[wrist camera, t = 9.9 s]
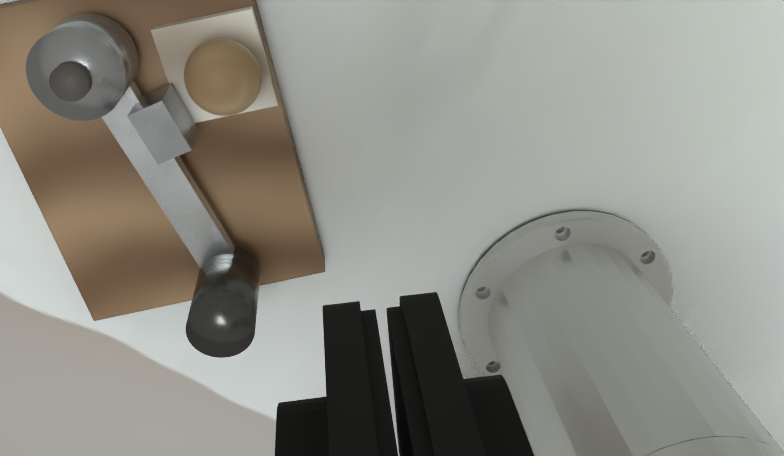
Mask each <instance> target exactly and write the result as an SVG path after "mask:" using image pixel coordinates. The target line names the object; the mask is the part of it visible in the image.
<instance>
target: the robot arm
mask: <svg viewBox="0 0 784 456" xmlns="http://www.w3.org/2000/svg"><path fill="white" fill-rule="evenodd" d="M672 292H673V289H672V278H671V272H670V269H669V267H668V264H667V261H666V258H665V257H664V255H663V254H662V253H661V251H660V250H659V248H658V247H657V245H656V244H655V243H654V242H653V241H652V240H651V239H650V238H649V236H648V235H647V234H646V233H645V232H644V231H642V230H641V229H639V228H638V227H637V226H635V225H634V224H632V223H631V222H629V221H626V220H624V219H622V218H619V217H617V216H614V215H611V214H605V213H600V212H595V211H571V212H565V213H559V214H553V215H549V216H546V217H544V218H541V219H538V220H535V221H532V222H530V223H528V224H526V225H524V226H522V227H520V228H518V229H516V230H515V231H513V232H511V233H510V234H508V235H507V236H506V237H504V238H503V239H502V240H500V241H499V242H498V243H496V244H495V245H494V246H493V247H492V248H491V249H490V250H489V251H488V252H487V253H486V254H485V255H484V257H483V258H482V259H481V260H480V261H479V262H478V264H477V265H476V267H475V269H474V270H473V272H472V273H471V275H470V276H469V278H468V281H467V283H466V285H465V288H464V290H463V293H462V297H461V302H460V308H459V326H460V331H461V334H462V338H463V342H464V345H465V347H466V349H467V352H468V354H469V356H470V358H471V360H472V361H473V362H474V364H475V365H476V366H477V368H478V369H479V370H480V371H481V372H482V373H483V374H484V375H486V376H485V377H477V378H469V379H463V377H462V374H461V370H460V367H459V364H458V360H457V357H456V354H455V350H454V347H453V344H452V340H451V337H450V334H449V330H448V327H447V324H446V320H445V317H444V313H443V310H442V307H441V303H440V300H439V297H438V294H437V293H436V292H433V293H424V294H416V295H408V296H400V306H399V307H390V308H387V321H388V332H389V343H390V355H391V366H392V378H393V389H394V401H395V412H396V423H397V435H398V445H399V454H400V456H534V455H535V456H784V452H783V450H782V449H781V448H780V447H779V445H778V444H777V443H776V441H775V440H774V439H773V438H772V437H771V435H770V434H769V433H768V431H767V430H766V429H765V427H764V426H763V425H762V424H761V422H760V421H759V420H758V419H757V417H756V416H755V415H754V414H753V412H752V411H751V410H750V408H749V407H748V406H747V405H746V403H745V402H744V401H743V400H742V398H741V397H740V396H739V395H738V393H737V392H736V391H735V390H734V388H733V387H732V386H731V384H730V383H729V382H728V381H727V379H726V378H725V377H724V376H723V374H722V373H721V372H720V371H719V369H718V368H717V367H716V365H715V364H714V363H713V362H712V360H711V359H710V358H709V357H708V355H707V354H706V353H705V352H704V350H703V349H702V348H701V347H700V345H699V344H698V343H697V341H696V340H695V339H694V338H693V336H692V335H691V334H690V333H689V331H688V330H687V329H686V328H685V326H684V325H683V324H682V322H681V321H680V320H679V319H678V317H677V316H676V315H675V314H674V312H673V311H672V310H671V309H670V307H671V299H672ZM323 326H324V349H325V372H326V394H327V397H321V398H313V399H305V400H297V401H289V402H282V403H279V404H278V407H277V420H276V442H275V456H398V452H397V446H396V439H395V433H394V427H393V420H392V414H391V407H390V401H389V394H388V388H387V382H386V375H385V369H384V362H383V356H382V350H381V343H380V337H379V330H378V324H377V318H376V311H375V309H374V310H366V311H361V310H360V302H359V301H358V302H349V303H341V304H333V305H324V306H323ZM509 389H510V391H509ZM510 392H511V393H510ZM511 395H512V396H511ZM512 397H513V398H512ZM513 400H514V401H513ZM514 402H515V404H514ZM515 405H516V406H515ZM516 408H517V409H516ZM517 410H518V412H517ZM518 413H519V414H518ZM519 416H520V417H519ZM520 418H521V420H520ZM521 421H522V422H521ZM522 423H523V425H522ZM523 426H524V428H523ZM524 429H525V430H524ZM525 431H526V433H525ZM526 434H527V436H526ZM527 437H528V438H527ZM528 439H529V441H528ZM529 442H530V443H529ZM530 444H531V446H530ZM531 447H532V449H531ZM532 450H533V451H532ZM533 452H534V454H533Z"/></svg>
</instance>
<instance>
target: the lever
mask: <svg viewBox="0 0 784 456" xmlns="http://www.w3.org/2000/svg"><path fill="white" fill-rule="evenodd" d="M67 61H73V62H77V63H79V64H81V65H83V66H84V67H85V68H86V69H87V70H88V71H89V73H90V74H91V77H92V87H91V89H90V91H89V92H88V93H87V94H86V95H85V97H84V98H82V99H81V100H79V101H74V102H70V101H65V100H62V99H60V98H59V97H58V96H56V95H55V94H54V93H53V91H52V90H51V88H50V85H49V77H50V74H51V72H52V71H53V70H54V69H55V68H56V67H57V66H58V65H59V64H61V63H63V62H67ZM138 66H139V59H138V52H137V49H136V46H135V44H134V42H133V40H132V38H131V37H130V35H129V34H128V33H127V32H126V31H125V29H123V28H122V27H121V26H120V25H119V24H117V23H116V22H115V21H113V20H111V19H109V18H107V17H105V16H101V15H98V14H92V13H83V14H77V15H73V16H71V17H69V18H67V19H65V20H64V21H62V22H61V23H60V24H58V25H57V26H56V27H54V28H53V29H52V30H51V31H49V32H48V33H47V34H45V35H44V36H43V37H41V38H40V39H39V40H38V41H37V42H36V43H35V44H34V45H33V46H32V48H31V49H30V51H29V53H28V56H27V60H26V76H27V80H28V83H29V86H30V88H31V90H32V92H33V93H34V95H35V96H36V97H37V99H38V100H39V101H40V102H41V103H42V104H43V105H44V106H45V107H46V108H48V109H49V110H50V111H52V112H54V113H55V114H57V115H59V116H62V117H64V118H67V119H71V120H77V121H88V120H94V119H98V118H100V117H102V119H103V120H104V122H105V123H106V125H107V126H108V128H109V129H110V131H111V132H112V134H113V135H114V137H115V138H116V140H117V141H118V143H119V145H120V146H121V148H122V149H123V151H124V152H125V154H126V155H127V157H128V158H129V160H130V161H131V163H132V164H133V166H134V167H135V169H136V170H137V172H138V174H139V175H140V177H141V178H142V180H143V181H144V183H145V184H146V186H147V187H148V189H149V190H150V192H151V193H152V195H153V196H154V198H155V200H156V201H157V203H158V204H159V206H160V207H161V209H162V210H163V212H164V213H165V215H166V216H167V218H168V219H169V221H170V222H171V224H172V225H173V227H174V229H175V230H176V232H177V233H178V235H179V236H180V238H181V239H182V241H183V242H184V244H185V245H186V247H187V248H188V250H189V251H190V253H191V255H192V256H193V258H194V259H195V261H196V262H197V264H198V265H199V267H200V269H199V273H198V277H197V282H196V286H195V290H194V295H193V299H192V303H191V307H190V312H189V316H188V320H187V324H186V334H187V338H188V340H189V342H190V343H191V344H192V346H193V347H194V348H195V349H197V350H198V351H200V352H201V353H203V354H206V355H209V356H212V357H230V356H234V355H237V354H239V353H241V352H242V351H244V350H245V349H246V348H247V347H248V346H249V345H250V344H251V342H252V340H253V338H254V334H255V323H256V313H257V302H258V291H259V280H260V267H259V264H258V262H257V260H256V258H255V257H254V256H253V255H252V254H251V253H250V252H248V251H247V250H245V249H243V248H240V247H236V246H234V244H233V242H232V241H231V239H230V238H229V236H228V234H227V233H226V231H225V229H224V228H223V226H222V224H221V223H220V221H219V220H218V218H217V216H216V215H215V213H214V211H213V210H212V208H211V207H210V205H209V203H208V202H207V200H206V198H205V197H204V195H203V193H202V192H201V190H200V189H199V187H198V185H197V184H196V182H195V180H194V179H193V177H192V175H191V174H190V172H189V171H188V169H187V167H186V166H185V164H184V162H183V161H182V159H181V157H180V156H179V155H182V154H184V153H186V152H189V151H191V150H192V148H193V145H194V142H195V139H196V136H197V133H198V128H197V127H196V125H195V123H194V121H193V120H192V118H191V116H190V115H189V113H188V111H187V110H186V108H185V106H184V104H183V103H182V101H181V99H180V98H179V96H178V94H177V92H176V91H175V89H174V87H173V86H172V84H171V83H170V84H168V85H166V86H163V87H161V88H159V89H157V90H154V91H152V92H150V93H148V94H145V95H142V94H141V92H140V91H139V89H138V87H137V86H136V84H135V82H134V79H135V77H136V74H137V71H138Z"/></svg>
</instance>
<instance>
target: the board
mask: <svg viewBox="0 0 784 456" xmlns="http://www.w3.org/2000/svg"><path fill="white" fill-rule="evenodd" d="M83 13H92V14H98V15H101V16H105V17H107V18H109V19H111V20H113V21H115V22H116V23H117V24H119V25H120V26H121V27H122V28H123V29H125V31H126V32H127V33H128V34H129V35H130V37H131V38H132V40H133V42H134V44H135V46H136V49H137V52H138V59H139V66H138V71H137V74H136V77H135V79H134V82H135V84H136V86H137V87H138V89H139V91H140V92H141V94H142V95H145V94H148V93H150V92H152V91H154V90H157V89H159V88H161V87H163V86H166V85H168V84H170V83H171V84H172V86H173V87H174V89H175V91H176V92H177V94H178V96H179V98H180V99H181V101H182V103H183V104H184V106H185V108H186V110H187V111H188V113H189V115H190V116H191V118H192V120H193V121H194V123H195V125H196V127H197V128H198V133H197V136H196V139H195V142H194V145H193V148H192V150H191V151H189V152H186V153H184V154H182V155H179V156H180V157H181V159H182V161H183V162H184V164H185V166H186V167H187V169H188V171H189V172H190V174H191V175H192V177H193V179H194V180H195V182H196V184H197V185H198V187H199V189H200V190H201V192H202V193H203V195H204V197H205V198H206V200H207V202H208V203H209V205H210V207H211V208H212V210H213V211H214V213H215V215H216V216H217V218H218V220H219V221H220V223H221V224H222V226H223V228H224V229H225V231H226V233H227V234H228V236H229V238H230V239H231V241H232V242H233V244H234V246H236V247H240V248H243V249H245V250H247V251H248V252H250V253H251V254H252V255H253V256H254V257H255V258H256V260H257V262H258V264H259V267H260V280H259V286H260V285H265V284H270V283H274V282H279V281H284V280H288V279H293V278H298V277H302V276H307V275H312V274H316V273H321V272H325V260H324V254H323V250H322V247H321V243H320V239H319V235H318V232H317V228H316V224H315V220H314V217H313V213H312V209H311V205H310V202H309V198H308V194H307V190H306V187H305V183H304V179H303V175H302V172H301V168H300V164H299V160H298V157H297V153H296V149H295V146H294V142H293V138H292V134H291V131H290V127H289V123H288V119H287V116H286V112H285V108H284V104H283V101H282V97H281V93H280V89H279V86H278V82H277V78H276V74H275V71H274V67H273V63H272V59H271V56H270V52H269V48H268V44H267V41H266V37H265V33H264V29H263V26H262V22H261V18H260V14H259V11H258V7H257V3H256V0H19V1H14V2H9V3H4V4H0V128H1V130H2V132H3V134H4V136H5V138H6V140H7V142H8V144H9V146H10V148H11V150H12V152H13V154H14V156H15V159H16V161H17V163H18V165H19V167H20V169H21V171H22V173H23V175H24V177H25V179H26V181H27V183H28V185H29V187H30V190H31V192H32V194H33V196H34V198H35V200H36V202H37V204H38V206H39V208H40V210H41V212H42V214H43V216H44V219H45V221H46V223H47V225H48V227H49V229H50V231H51V233H52V235H53V237H54V239H55V241H56V243H57V245H58V247H59V250H60V252H61V254H62V256H63V258H64V260H65V262H66V264H67V266H68V268H69V270H70V272H71V274H72V276H73V279H74V281H75V283H76V285H77V287H78V289H79V291H80V293H81V295H82V297H83V299H84V301H85V303H86V305H87V307H88V310H89V312H90V314H91V316H92V318H93V320H94V321H96V320H101V319H106V318H110V317H115V316H120V315H125V314H129V313H134V312H139V311H143V310H148V309H153V308H157V307H162V306H167V305H171V304H176V303H181V302H185V301H190V300H192V299H193V295H194V290H195V286H196V282H197V277H198V273H199V269H200V267H199V265H198V264H197V262H196V261H195V259H194V258H193V256H192V255H191V253H190V251H189V250H188V248H187V247H186V245H185V244H184V242H183V241H182V239H181V238H180V236H179V235H178V233H177V232H176V230H175V229H174V227H173V225H172V224H171V222H170V221H169V219H168V218H167V216H166V215H165V213H164V212H163V210H162V209H161V207H160V206H159V204H158V203H157V201H156V200H155V198H154V196H153V195H152V193H151V192H150V190H149V189H148V187H147V186H146V184H145V183H144V181H143V180H142V178H141V177H140V175H139V174H138V172H137V170H136V169H135V167H134V166H133V164H132V163H131V161H130V160H129V158H128V157H127V155H126V154H125V152H124V151H123V149H122V148H121V146H120V145H119V143H118V141H117V140H116V138H115V137H114V135H113V134H112V132H111V131H110V129H109V128H108V126H107V125H106V123H105V122H104V120H103V119H102V117H100V118H98V119H94V120H88V121H77V120H71V119H67V118H64V117H62V116H59V115H57V114H55V113H54V112H52V111H50V110H49V109H48V108H46V107H45V106H44V105H43V104H42V103H41V102H40V101H39V100H38V99H37V97H36V96H35V95H34V93H33V92H32V90H31V88H30V86H29V83H28V80H27V76H26V60H27V56H28V53H29V51H30V49H31V48H32V46H33V45H34V44H35V43H36V42H37V41H38V40H39V39H40V38H41V37H43V36H44V35H45V34H47V33H48V32H49V31H51V30H52V29H53V28H54V27H56V26H57V25H58V24H60V23H61V22H62V21H64V20H65V19H67V18H69V17H71V16H73V15H77V14H83ZM49 85H50V88H51V90H52V91H53V93H54V94H55V95H56V96H58V97H59V98H60V99H62V100H65V101H70V102H74V101H79V100H81V99H82V98H84V97H85V95H86V94H87V93H88V92H89V91H90V89H91V87H92V77H91V74H90V73H89V71H88V70H87V69H86V68H85V67H84V66H83V65H81V64H79V63H77V62H73V61H67V62H63V63H61V64H59V65H58V66H57V67H56V68H55V69H54V70H53V71H52V72H51V74H50V77H49Z"/></svg>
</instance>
